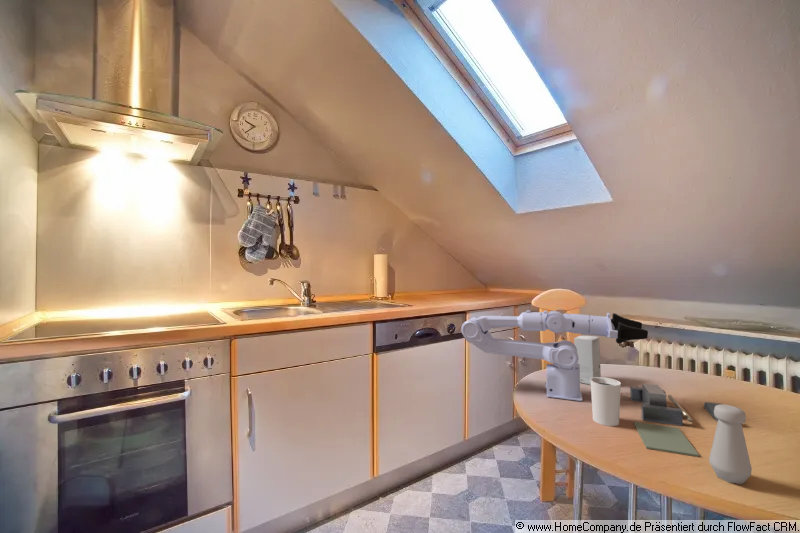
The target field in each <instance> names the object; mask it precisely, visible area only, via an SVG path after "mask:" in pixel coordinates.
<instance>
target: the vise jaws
mask: <svg viewBox="0 0 800 533" xmlns="http://www.w3.org/2000/svg"><path fill="white" fill-rule="evenodd" d="M629 388H630V389H629V391H630V393H629V395H630V396H629V397H630V401H631V402H638V403H640V404H641V405H640V406H641V412H640V414H641V417H640V418H641V419H642V421H644V422H650V423H659V424H664V425H665V424H666V425H671V426H672V425H674V426H680V427H684V425H683V423H684V422H683V419H684V418H685V419H686V420H687V421H688V422H690V423H692V422H693V420H694V418H692V417H691V416H690V415H689V413H688V411H686V410H685V409H684V408H683V407H682V406H681V405H680V403H679V402H678V401H677V400H676V399H675V398H674V396H672V395H671V394H668V395H667V394H666V393H667V392H666V391H665V390H664V389H662V390H663V392H664V393H665V394H666V395H667V398H668V399H669V400H670V402H672V404H673V405H674V407H670V406H667V407H663V406H655V405H647V404H643V398H642V387H640V386H639V387H638V386H630V387H629ZM683 416H684V418H683Z"/></svg>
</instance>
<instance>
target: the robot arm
mask: <svg viewBox="0 0 800 533" xmlns="http://www.w3.org/2000/svg"><path fill="white" fill-rule="evenodd" d="M611 316H612V317H611ZM513 327H514V328H515V327H517V328H520V329H521V330H522V331H524V332H526V331H528V332H529V331H530V332H534V331H535V332H545V331H546V330H548V331H551V332H553V333H554V334H560V333H561V332H567V333H571V334H579V335H586V336H596V337H605V338H609V339H615V342H616V344H622V343H625V342H628V341H635V340H647V339H648V337H649V336H648V334H649V331H648V330H647V329H643V323H642V322H641V321H637V320H633V319H629V318H626V317H623V316H621V315H619V314H617V313H612V315H611V313H610V312H606V316H602V315H591V314H581V313H562V312H560V311H558V310H557V311H556V310H550V311H549V312H548V310H543V311H542V312H541V311H535V312H532V310H525V311H523V312H521V313H520V314H519V316H517V315H515V316H514V315H512V316H511V315H481V316H472V317H470V318H469V319H468V320H466V321H464V322H463V323H462V324H461V327H460V331H461V334H462V337H463V338H465V340H466V342H467V343H469V344H472V345H473V346H475V347H476V348H478V349H479V350H481V351H482V352H483V353H485V354H493V355H502V356H511V357H517V358H518V357H520V358H530V359H535V360H536V359H537V360H544V361H546V362H548V363H547V364H546V382H545V389H546V397H548V398H554V399H562V400H570V401H578V402H583V395H582V391H581V383H580V365H579V364H578V360H579V357H578V354H577V348H576V346H575V345H574V342H571V341H570V340H560V341H557V342H553V341H550V342H539V341H538V342H536V341H528V340H527V341H526V340H517V339H509V338H508V339H507V338H506V339H505V338H498V337H497V338H496V337H493V335H492V334H491V332H489V330H491V329H493V328H513ZM549 363H550V364H549Z"/></svg>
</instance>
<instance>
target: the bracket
mask: <svg viewBox="0 0 800 533" xmlns="http://www.w3.org/2000/svg"><path fill="white" fill-rule="evenodd" d="M717 405H724V404H723V403H716V402H708V401H704V403H703V406H704V409H705V410H706V411H707V412H708V413H709V415H710V416H711V417H712V418H713V419H714V420H715V421H716V422H717V423H718V419H717V418H716V417H715V415H714V408H715V406H717Z"/></svg>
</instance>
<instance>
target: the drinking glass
mask: <svg viewBox="0 0 800 533" xmlns="http://www.w3.org/2000/svg"><path fill="white" fill-rule="evenodd" d="M621 384H622V383H621V382H620V381H619V380H617V379H614V378H609V377H604V376H603V377H602V376H601V377H593V378H591V385H590V392H591V395H590V396H591V407H592V408H591V409H592V413H591V414H592V420H593V422H595V423H597V424H599V425H602V426H606V427H617V426H619V425H620V411H621V408H620V407H621V387H622V385H621Z"/></svg>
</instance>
